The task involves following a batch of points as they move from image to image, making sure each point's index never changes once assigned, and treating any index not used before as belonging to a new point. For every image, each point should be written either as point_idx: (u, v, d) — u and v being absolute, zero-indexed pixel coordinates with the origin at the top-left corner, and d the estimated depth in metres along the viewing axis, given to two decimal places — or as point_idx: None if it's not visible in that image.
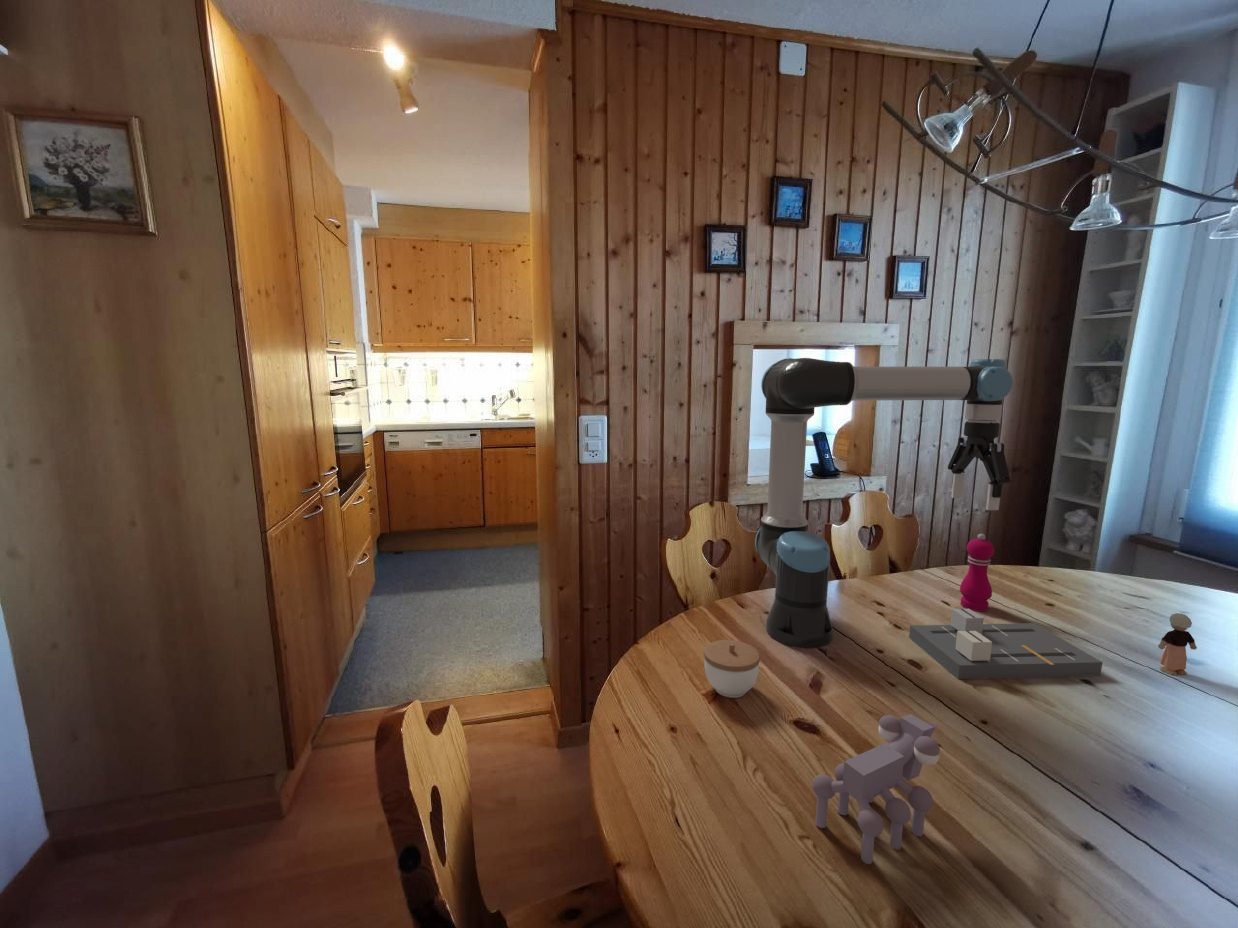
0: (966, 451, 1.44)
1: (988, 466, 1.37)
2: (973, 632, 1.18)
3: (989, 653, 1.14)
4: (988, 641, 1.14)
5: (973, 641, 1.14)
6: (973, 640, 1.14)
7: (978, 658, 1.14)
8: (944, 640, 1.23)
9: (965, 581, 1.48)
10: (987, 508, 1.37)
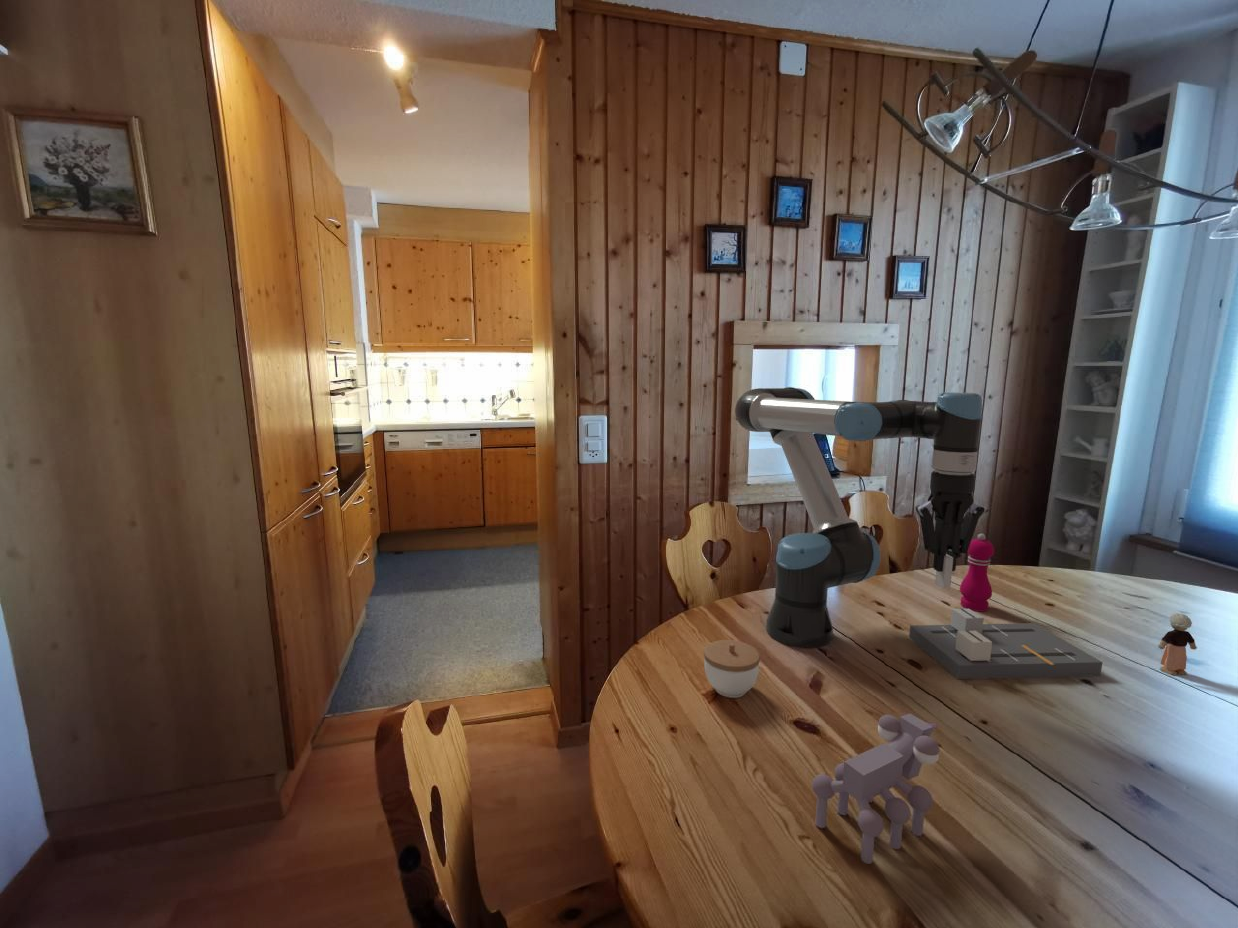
0: None
1: None
2: (973, 632, 1.18)
3: (989, 653, 1.14)
4: (988, 641, 1.14)
5: (973, 641, 1.14)
6: (973, 640, 1.14)
7: (978, 658, 1.14)
8: (944, 640, 1.23)
9: (965, 581, 1.48)
10: None
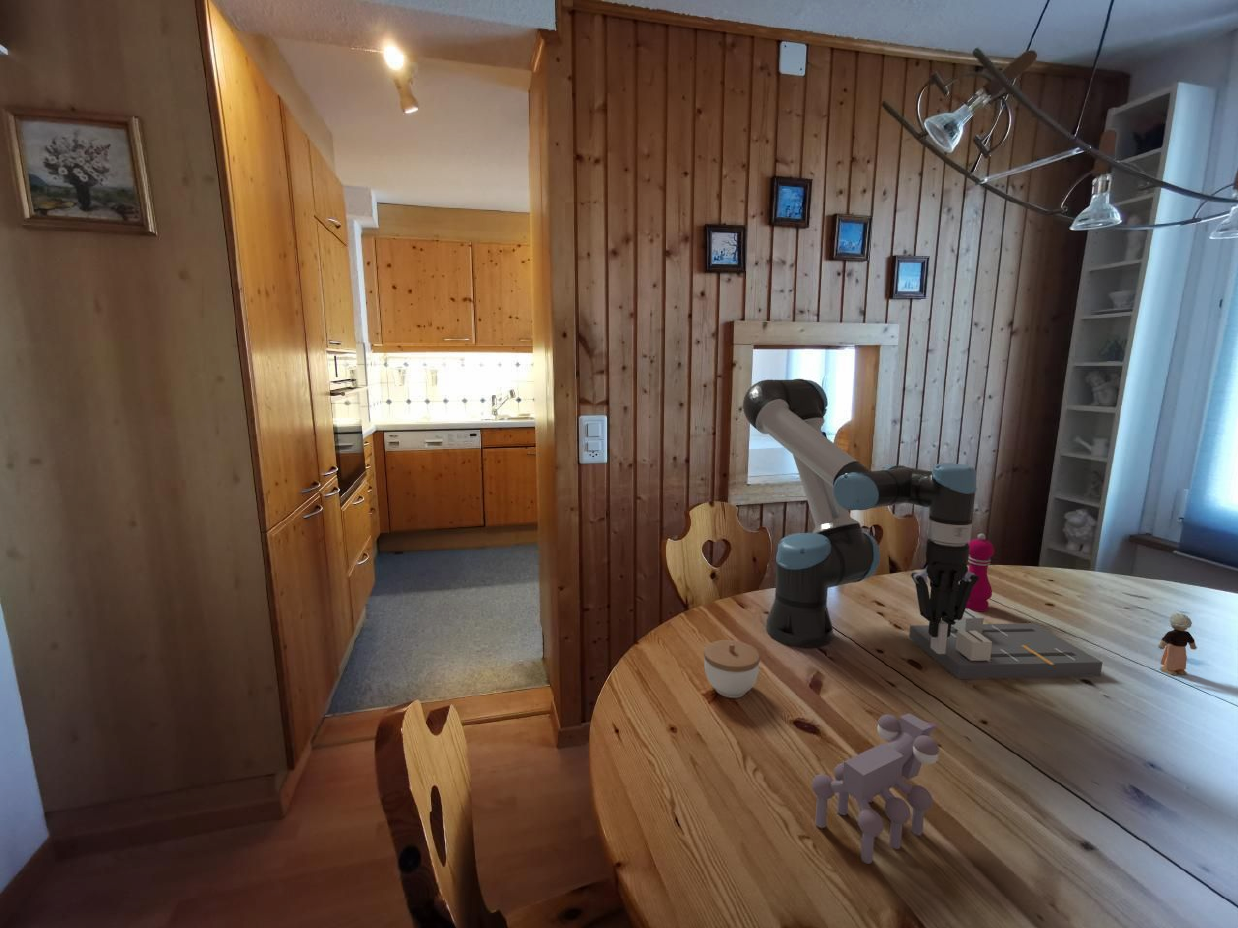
0: None
1: None
2: (973, 632, 1.18)
3: (989, 653, 1.14)
4: (988, 641, 1.14)
5: (973, 641, 1.14)
6: (973, 640, 1.14)
7: (978, 658, 1.14)
8: None
9: None
10: None
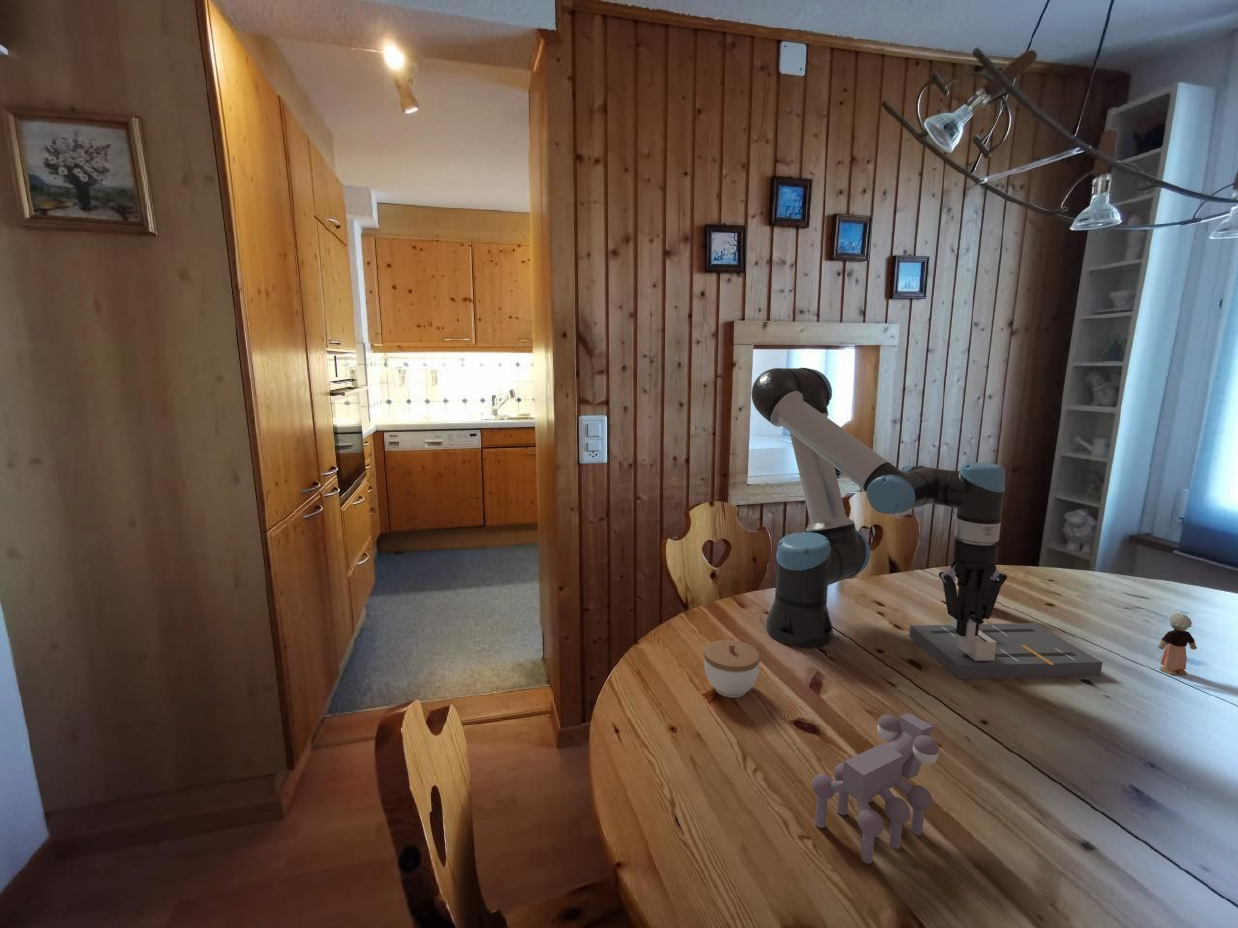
0: None
1: None
2: None
3: (993, 653, 1.14)
4: (992, 641, 1.14)
5: (977, 641, 1.14)
6: (978, 640, 1.14)
7: (982, 658, 1.14)
8: (944, 640, 1.23)
9: None
10: None
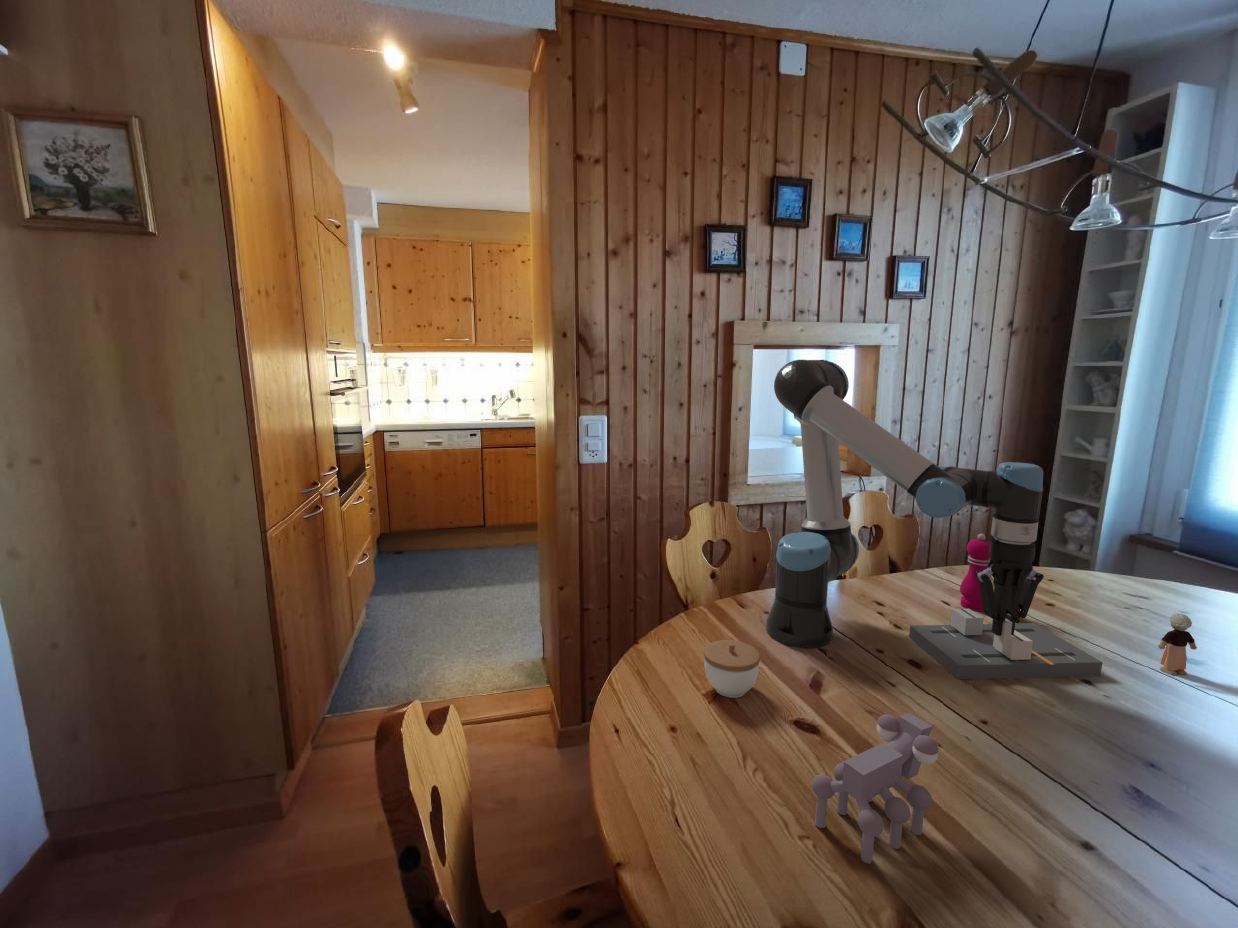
0: None
1: None
2: None
3: (1030, 652, 1.14)
4: (1029, 640, 1.14)
5: (1014, 640, 1.14)
6: (1014, 639, 1.14)
7: (1019, 657, 1.14)
8: (944, 640, 1.23)
9: (965, 581, 1.48)
10: None
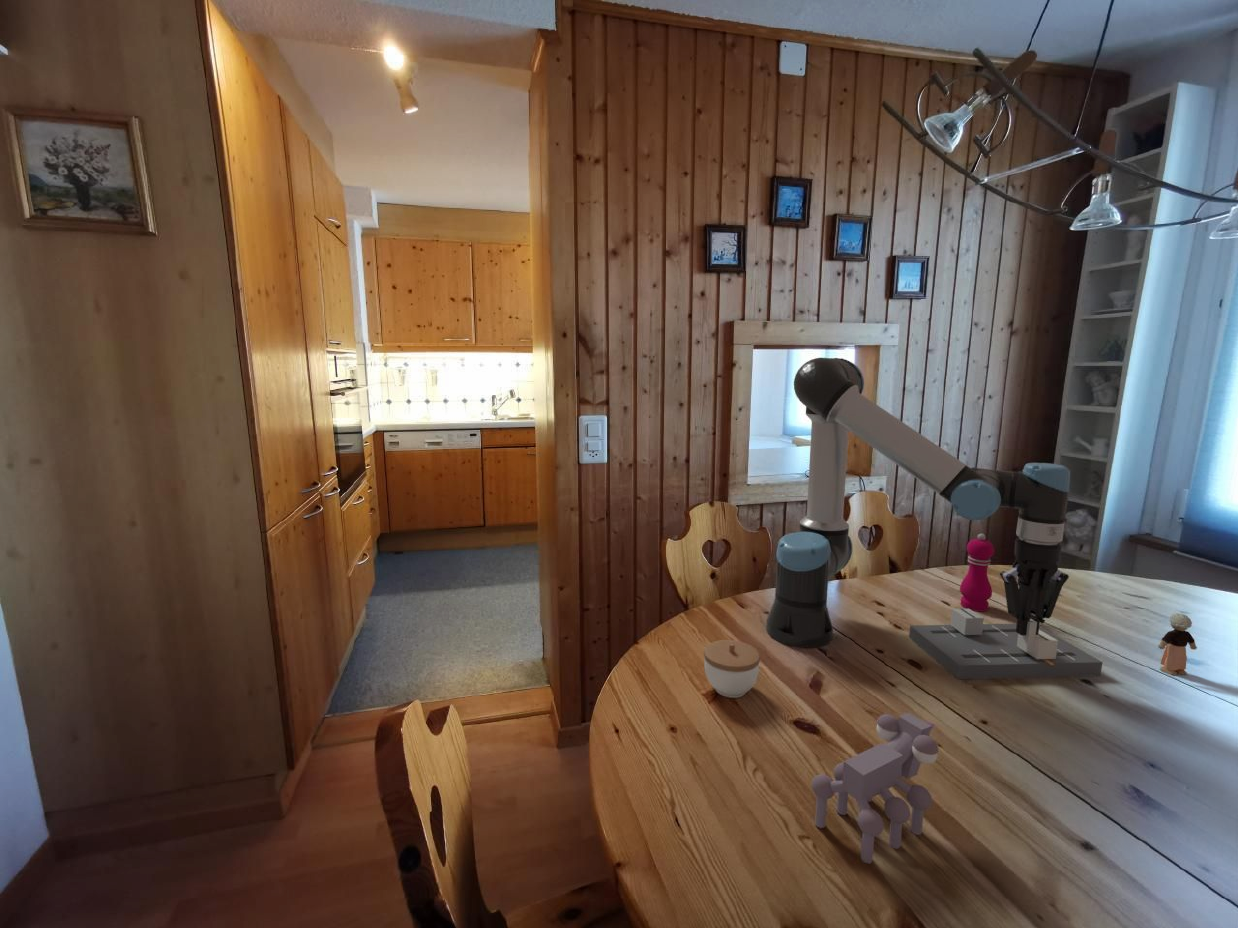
0: None
1: None
2: None
3: (1055, 652, 1.15)
4: (1054, 639, 1.14)
5: (1039, 640, 1.14)
6: (1039, 639, 1.15)
7: (1044, 657, 1.15)
8: (944, 640, 1.23)
9: (965, 581, 1.48)
10: None
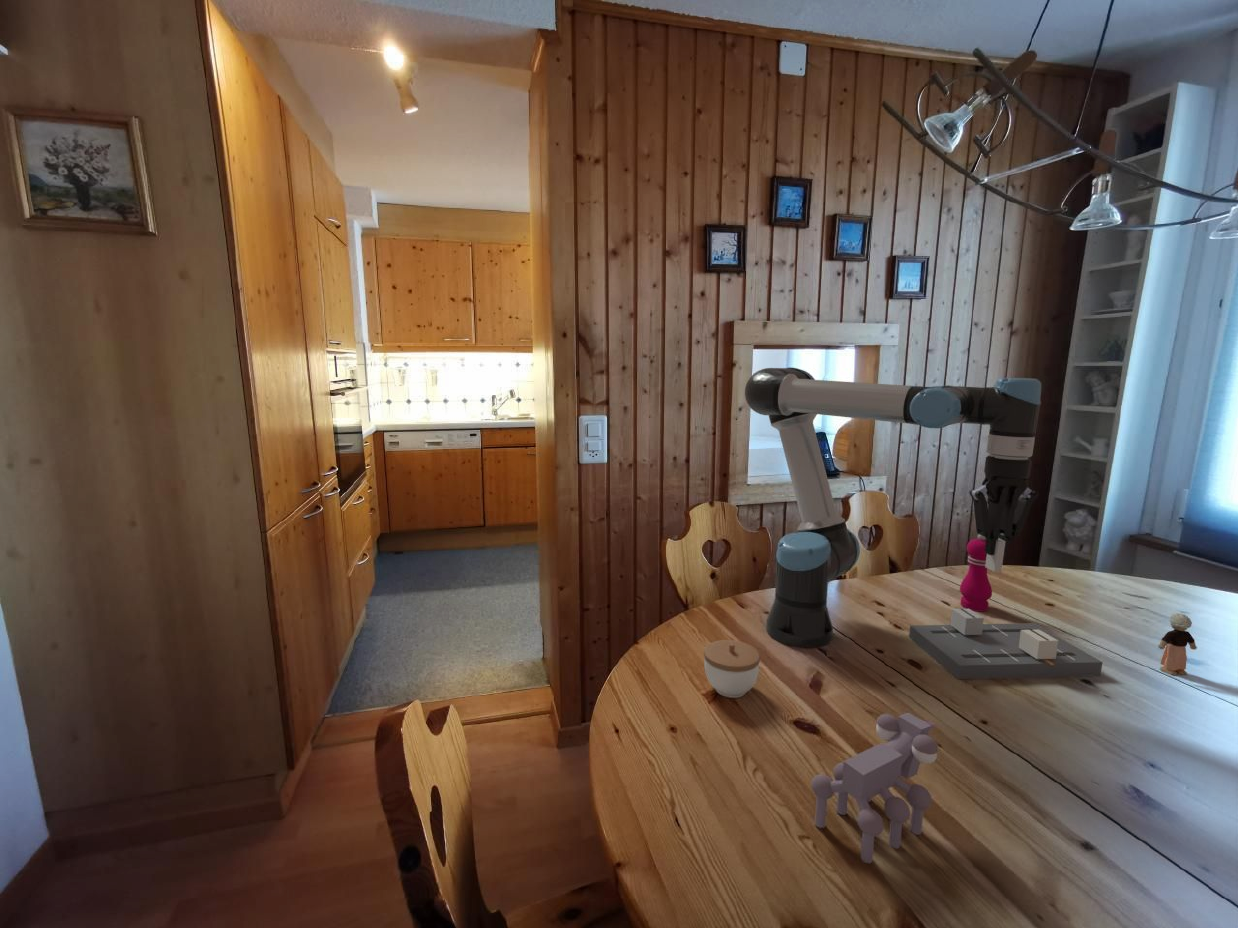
0: None
1: None
2: (1037, 631, 1.18)
3: (1055, 652, 1.15)
4: (1054, 639, 1.14)
5: (1039, 640, 1.14)
6: (1039, 639, 1.15)
7: (1044, 657, 1.15)
8: (944, 640, 1.23)
9: (965, 581, 1.48)
10: None
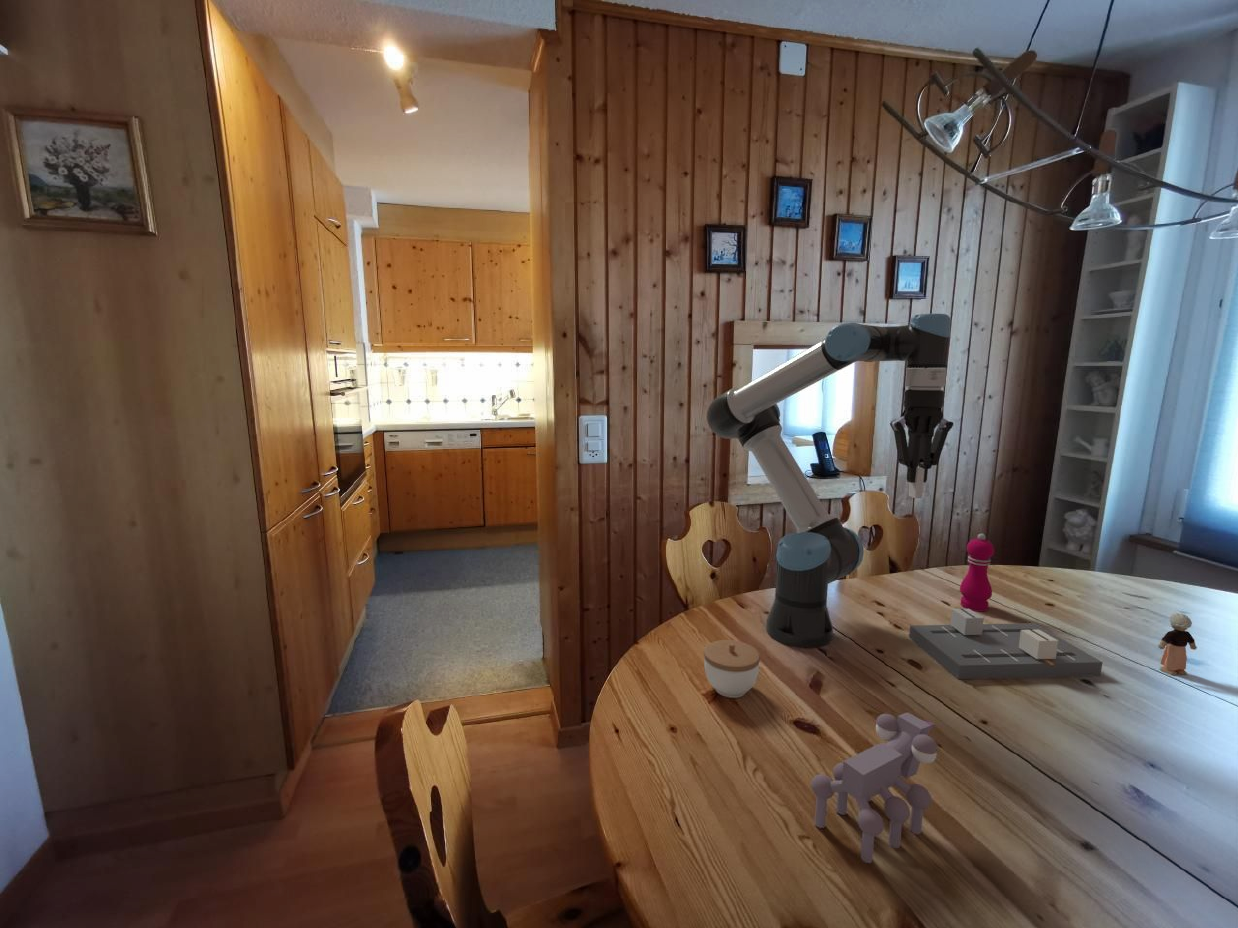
0: None
1: None
2: (1037, 631, 1.18)
3: (1055, 652, 1.15)
4: (1054, 639, 1.14)
5: (1039, 640, 1.14)
6: (1039, 639, 1.15)
7: (1044, 657, 1.15)
8: (944, 640, 1.23)
9: (965, 581, 1.48)
10: None
